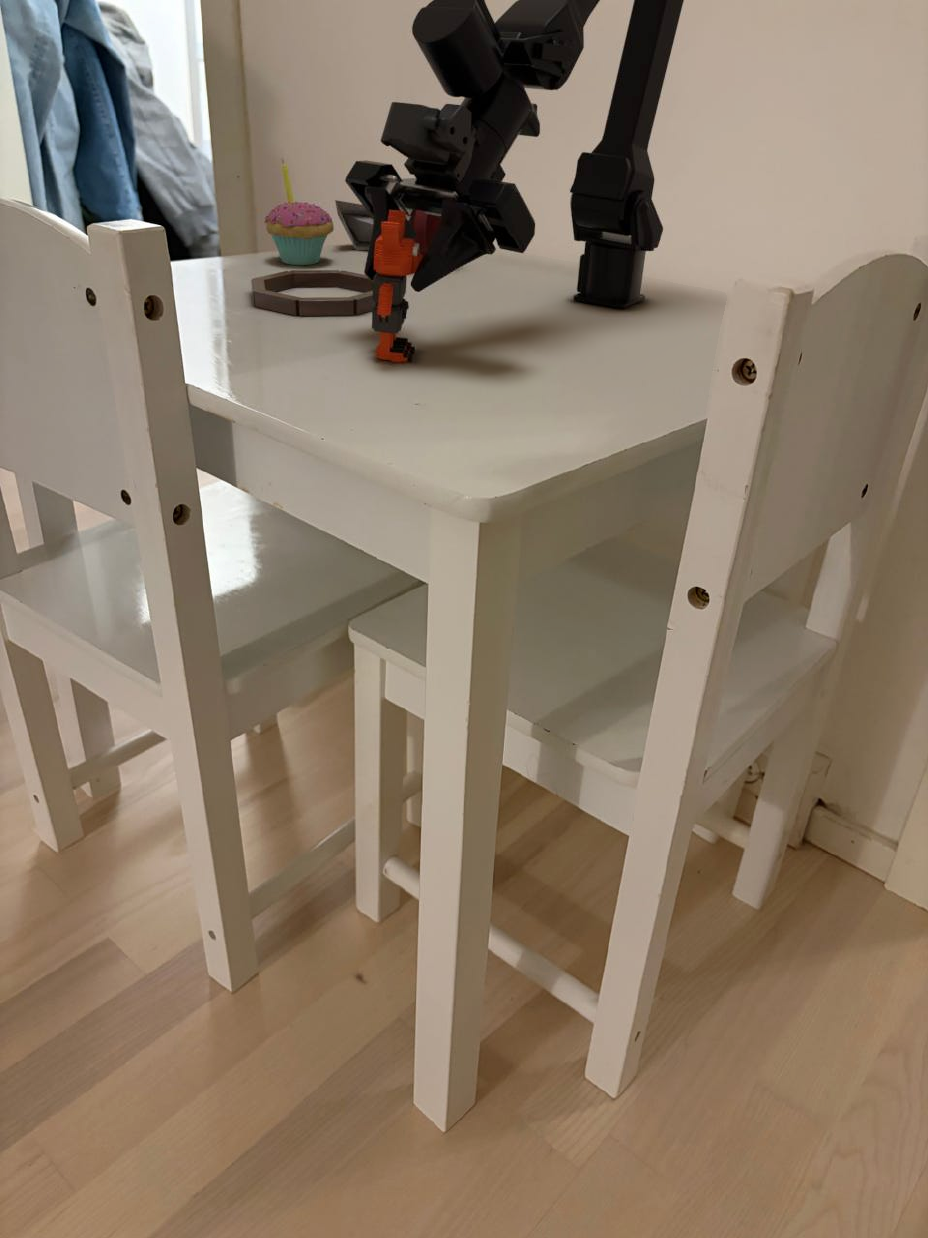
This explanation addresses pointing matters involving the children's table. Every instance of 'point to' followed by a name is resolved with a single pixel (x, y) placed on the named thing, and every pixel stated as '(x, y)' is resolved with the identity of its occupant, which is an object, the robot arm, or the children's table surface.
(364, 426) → the children's table surface
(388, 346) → the toy animal
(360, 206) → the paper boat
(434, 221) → the mug
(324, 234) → the cupcake
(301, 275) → the hoop
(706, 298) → the children's table surface
